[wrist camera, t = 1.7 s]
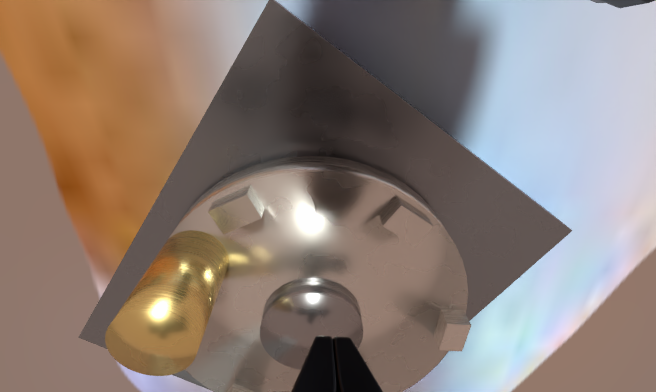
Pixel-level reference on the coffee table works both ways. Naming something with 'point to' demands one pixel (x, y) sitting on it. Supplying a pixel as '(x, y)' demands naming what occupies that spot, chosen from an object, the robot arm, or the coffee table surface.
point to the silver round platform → (297, 280)
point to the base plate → (339, 142)
